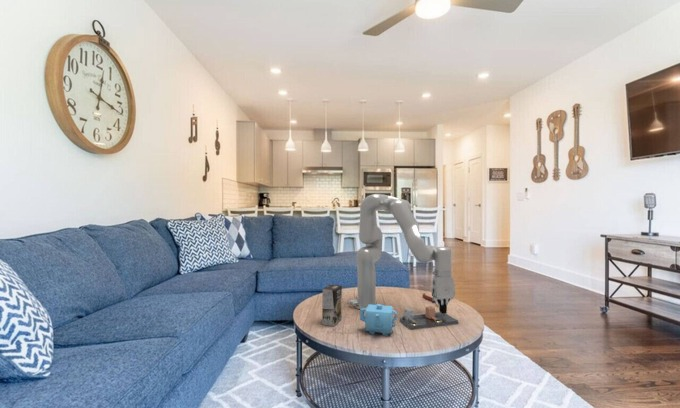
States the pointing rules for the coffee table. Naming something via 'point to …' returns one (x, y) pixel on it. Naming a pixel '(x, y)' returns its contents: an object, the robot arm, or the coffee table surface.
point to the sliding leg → (430, 312)
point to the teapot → (378, 318)
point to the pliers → (429, 299)
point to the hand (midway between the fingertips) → (443, 312)
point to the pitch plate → (425, 320)
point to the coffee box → (332, 305)
